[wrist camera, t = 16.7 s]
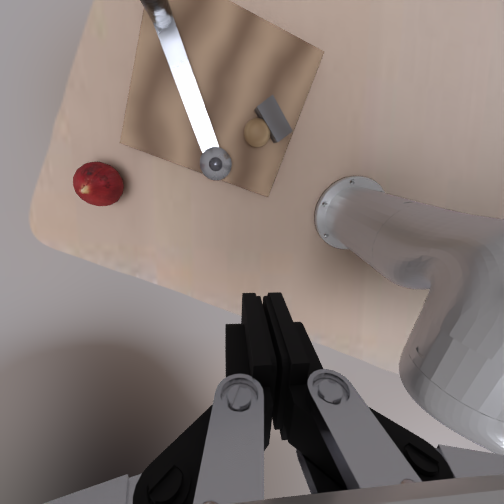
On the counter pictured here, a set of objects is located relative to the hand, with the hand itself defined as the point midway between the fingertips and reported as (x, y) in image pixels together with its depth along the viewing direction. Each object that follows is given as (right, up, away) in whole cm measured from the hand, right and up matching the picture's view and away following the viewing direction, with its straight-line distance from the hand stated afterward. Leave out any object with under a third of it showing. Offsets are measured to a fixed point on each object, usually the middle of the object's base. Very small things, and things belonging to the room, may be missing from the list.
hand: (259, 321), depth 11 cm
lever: (-8, +23, +22) cm, 33 cm away
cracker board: (-5, +24, +24) cm, 35 cm away
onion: (-22, +14, +27) cm, 37 cm away
